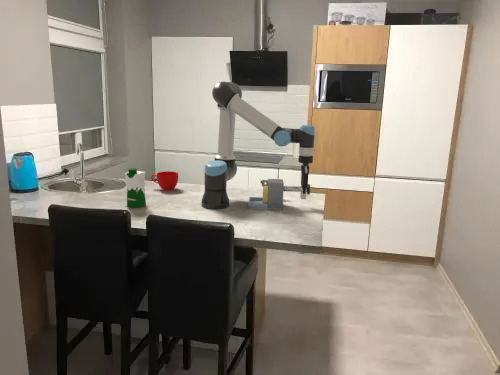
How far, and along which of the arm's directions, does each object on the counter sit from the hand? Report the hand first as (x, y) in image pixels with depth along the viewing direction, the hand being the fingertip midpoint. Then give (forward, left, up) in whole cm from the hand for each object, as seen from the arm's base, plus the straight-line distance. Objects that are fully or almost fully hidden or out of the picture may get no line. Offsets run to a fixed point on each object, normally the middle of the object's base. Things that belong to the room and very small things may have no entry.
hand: (303, 198), depth 215 cm
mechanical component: (-18, +18, -5) cm, 26 cm away
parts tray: (-24, 0, -5) cm, 25 cm away
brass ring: (-21, 0, +1) cm, 21 cm away
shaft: (-7, 0, +2) cm, 8 cm away
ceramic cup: (-82, +29, -5) cm, 87 cm away
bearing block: (-15, 0, -5) cm, 16 cm away
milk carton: (-88, -8, -5) cm, 89 cm away
